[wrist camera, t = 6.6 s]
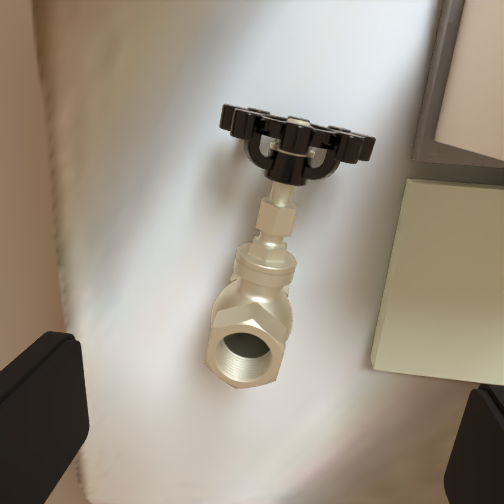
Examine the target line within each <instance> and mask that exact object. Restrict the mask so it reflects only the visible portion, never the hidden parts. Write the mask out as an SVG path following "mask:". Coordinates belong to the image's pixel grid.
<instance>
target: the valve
mask: <svg viewBox="0 0 504 504" xmlns="http://www.w3.org/2000/svg"><path fill="white" fill-rule="evenodd" d="M219 127H220V128H221V129H224V130H228V131H230V135H231V136H233V137H235V138H239V139H243V140H244V149H245V153H246V155H247V157H248V159H249V160H250V161H251V162H252V163H253V164H254V165H256V166H258V167H260V168H262V169H265V170H264V176H265V177H266V178H268V179H270V180H272V181H273V185H272V190H271V194H270V197H269V196H267V197H262V200H261V204H260V208H259V213H258V217H257V222H256V226H255V228H256V229H258V230H260V234H259V235H257V236H254V238H253V241H252V243H245V244H242V245H240V246H239V247H238V248H237V251H236V256H235V261H234V266H233V268H234V271H233V274H232V276H231V279H230V282H229V285H228V286H227V287H225V288H224V289H223V290H222V291H221V293H220V294H219V295H218V297H217V299H216V301H215V303H214V306H213V310H212V314H211V325H212V328H211V332H210V336H209V341H208V346H207V351H206V357H205V364H206V366H207V367H208V368H209V369H210V370H211V371H212V372H213V373H215V374H216V375H217V376H218V377H219V378H220V379H222V380H223V381H225V382H226V383H227V384H229V385H231V386H233V387H235V388H249V387H256V386H260V385H264V384H268V383H271V382H273V381H276V378H277V375H278V372H279V368H280V365H281V361H282V358H283V354H284V350H285V346H286V341H287V340H288V338H289V335H290V333H291V329H292V323H293V314H292V308H291V305H290V302H289V300H288V292H289V284H290V283H291V282H292V279H293V276H294V272H295V268H296V265H297V261H296V258H295V257H294V256H293V255H292V254H291V253H289V252H288V251H287V243H285V242H284V241H283V239H284V236H290V235H291V232H292V228H293V224H294V220H295V216H296V212H297V205H296V204H295V203H293V202H291V200H292V196H293V192H294V188H295V186H305V185H307V182H308V179H310V180H320V179H324V178H327V177H329V176H330V175H331V174H333V173H334V172H335V171H336V169H337V168H338V166H339V164H340V162H345V163H350V164H356V163H357V162H358V160H361V161H369V160H370V157H371V153H372V150H373V147H374V144H375V141H376V138H375V137H372V136H368V135H364V134H359V133H354V132H351V130H348V129H345V128H340V127H336V126H330V125H329V126H328V127H324V126H319V125H315V124H311V123H310V121H309V120H307V119H303V118H298V117H294V116H288V118H284V117H279V116H274V115H270V112H268V111H264V110H260V109H255V108H247V109H246V108H243V107H239V106H234V105H229V104H224V105H223V107H222V113H221V119H220V125H219ZM262 135H265V136H269V137H272V138H276V140H275V142H270V147H269V152H268V155H262V154H261V152H260V149H259V146H260V141H261V136H262ZM312 147H317V148H322V149H327V152H326V156H325V159H324V162H323V164H322V165H321V166H319V167H315V166H312V163H313V159H314V155H315V151H313V150H312Z"/></svg>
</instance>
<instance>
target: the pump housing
mask: <svg viewBox="0 0 504 504" xmlns="http://www.w3.org/2000/svg"><path fill="white" fill-rule="evenodd" d="M411 158H412V159H414V160H415V161H417V162H428V163H441V164H455V165H468V166H482V167H495V168H504V0H444V1H443V6H442V11H441V16H440V21H439V26H438V30H437V35H436V40H435V45H434V50H433V55H432V60H431V64H430V69H429V74H428V79H427V84H426V89H425V94H424V98H423V103H422V108H421V113H420V118H419V123H418V128H417V132H416V137H415V142H414V147H413V152H412V157H411Z"/></svg>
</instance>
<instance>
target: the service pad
mask: <svg viewBox="0 0 504 504" xmlns="http://www.w3.org/2000/svg"><path fill="white" fill-rule="evenodd" d="M370 359H371V362H372V366H373V370H378V371H387V372H395V373H403V374H412V375H420V376H428V377H437V378H445V379H454V380H462V381H470V382H479V383H487V384H496V385H504V186H499V185H487V184H474V183H461V182H448V181H435V180H422V179H410V178H407V181H406V186H405V191H404V195H403V200H402V205H401V210H400V215H399V220H398V225H397V229H396V234H395V239H394V244H393V249H392V254H391V259H390V263H389V268H388V273H387V278H386V283H385V288H384V293H383V297H382V302H381V307H380V312H379V317H378V322H377V327H376V331H375V336H374V341H373V346H372V351H371V356H370Z"/></svg>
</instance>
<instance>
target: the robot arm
mask: <svg viewBox="0 0 504 504" xmlns="http://www.w3.org/2000/svg"><path fill="white" fill-rule="evenodd" d="M88 432H89V417H88V407H87V398H86V388H85V379H84V370H83V360H82V351H81V344H80V342H79V341H77V340H75V337H74V336H73V335H72V334H69V333H61V332H52V331H49V332H46V333H44V334H43V335H42V336H41V337H40V338H38V339H37V340H36V341H35V342H34V343H33V344H32V345H31V346H29V347H28V348H27V349H26V350H25V351H24V352H22V353H21V354H20V355H19V356H18V357H17V358H15V359H14V360H13V361H12V362H11V363H10V364H8V365H7V366H6V367H5V368H4V369H3V370H2V371H0V504H44V503H45V501H46V500H47V498H48V497H49V495H50V493H51V492H52V491H53V489H54V488H55V486H56V484H57V483H58V482H59V480H60V478H61V477H62V475H63V474H64V472H65V471H66V469H67V468H68V466H69V465H70V463H71V461H72V460H73V459H74V457H75V455H76V454H77V452H78V451H79V449H80V448H81V446H82V445H83V443H84V442H85V440H86V438H87V435H88ZM444 488H445V492H446V495H447V498H448V501H449V503H450V504H504V386H501V385H492V384H481V385H480V386H479V388H478V389H473V390H472V391H471V393H470V395H469V398H468V401H467V405H466V408H465V411H464V414H463V417H462V420H461V424H460V427H459V430H458V433H457V436H456V440H455V443H454V446H453V449H452V452H451V455H450V459H449V462H448V465H447V468H446V471H445V475H444Z"/></svg>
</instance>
